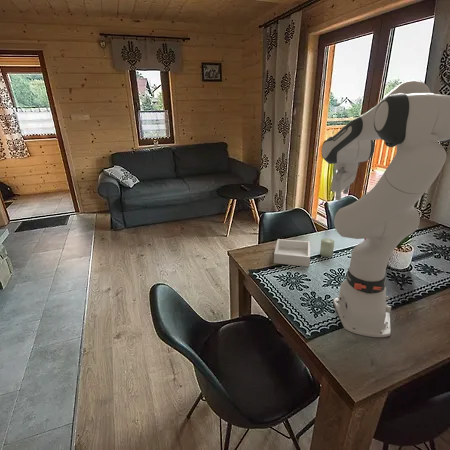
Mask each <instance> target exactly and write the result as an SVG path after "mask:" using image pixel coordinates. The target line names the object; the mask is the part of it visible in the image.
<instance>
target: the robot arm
mask: <svg viewBox="0 0 450 450" xmlns="http://www.w3.org/2000/svg"><path fill="white" fill-rule="evenodd" d="M374 140H375V141H376V140H382V141H384V145H385V146H387V147H388V148H394V147H396V152H395V156H393V159H392V160H391V162H390V163H389V164H388V166H387V168H386V169H385V171H384V172H383V174H382V175H381V176H380V178H379V180H378V181H377V182H376V184H375V185H374V186H373V188H372V189H370V190H369V191H367V193H365V195H362V196H361V197H360V198H358V199H357V200H355V201H354V202H352V203H350V204H348V205H346V206H343V207H340V208H339V209H338V210H337V212H336V213H335V216H334V220H333V221H334V222H333V224H334V225H333V226H334V229H335V230H336V232H337V234H338V235H340V237H342V238H348V239H355V240H363V239H365V238H366V240H363V241H361V242H360V243H358V244H357V245H355V246H354V247H353V249H352V250H351V253H350V254H351V256H350V261H349V267H348V268H347V272H346V278H345V280H344V281H342V282H341V283H340V287H339V293H338V297H335V298H333V299H332V302H333V305H334V308H335V310H336V312H337V314H338V317H339V319H340V321H341V324H342V327H343V328H344V329H345V330H346V331H348V332H350V333H353V334H356V335H360V336H364V337H365V336H366V337H369V338H370V337H371V338H372V337H373V338H386V337H390V336H391V331H392V329H391V312H392V306H391V305H388V303H387V301H389V299H390V297H389V296H388V295H386V293H387V287H386V282H387V280H386V278H387V276H386V271H387V266H388V263H389V259H390V257H391V255H392V253H393V252H394V251H395V249H396V248H397V246H398V245H399V244H400V243H401V242H402V241H403V240H404V239H405V238H407V237H408V236H410V235H412V234H413V233H414V232H416V231H417V229H418V228H419V225H420V221H421V219H420V214H419V211H418V210H417V208H416V207H415V205H416V204H417V202H419V201H420V198H422V196H423V195H424V194H425V193H426V191H428V190H429V188H430V187H431V186H432V185H433V183H434V182H435V180H436V179H437V177H438V176H439V174H440V172H441V171H442V169H443V167H444V164H445V162H446V161H447V151H446V150H445V147H444V146H443V145H442V144H441V143H439V142H442V143H450V95H448V94H440V93H439V94H438V93H433V92H431V90H430V88H429V86H428V85H427V84H426V83H425V82H422V81H421V80H415V79H411V80H407V81H404V82H401V83H400V84H398V85H397V86H396V87H394V88H393V89H392V90H391V91H389V92H388V93H387V94H386V95H385V96H384V97H382V99H380V101H378V103H377V104H376V105H375V106H374V107H371V109H369V110H368V111H366V112H364V113H362V114H361V115H360V116H358V117H355V118H354V119H352V120H350V121H349V122H348V123H347V124H345V125H344V126H342V127H341V129H340V130H339V131H338V132H337V133H335V134H334V135H333V136H330V137H328V138H327V139H325V141H324V142H323V145H322V146H321V156H322V158H323V160H324V161H325V162H326V163H327V164H328V165H329V164H330V165H334V169H335V170H336V171H337V172H335V173H334V174H333V175H334V176H333V179H332V184H331V185H332V186H331V192H334V193H335V200H336V201H340V200H341V199H342V193H343V194H345V195H347V194H348V193H349V190H350V187H351V184H353V183H354V182H355V179H356V176H357V172H358V170H359V167H360V164H361V163H364V162H368V161H369V160H371V158H372V157H373V155H374V152H375V149H376V148H375V147H376V145H375V144H376V143H375V141H374Z"/></svg>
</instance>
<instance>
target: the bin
mask: <svg viewBox="0 0 450 450" xmlns="http://www.w3.org/2000/svg"><path fill="white" fill-rule="evenodd" d="M310 261H311V241H309V240H298V239H297V240H296V239H294V240H293V239H284V238H281V239H280V238H277V241H276V245H275V248H274V252H273V264H278V265H290V266H300V267H307V268H309V267H310V264H311V263H310Z"/></svg>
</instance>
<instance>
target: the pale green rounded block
mask: <svg viewBox="0 0 450 450" xmlns="http://www.w3.org/2000/svg"><path fill="white" fill-rule="evenodd" d="M334 248H335V241H334V239H332V238H322V239H321V240H320V249H319V254H320V256H322V257H326V258H330V257H333V255H334Z"/></svg>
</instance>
